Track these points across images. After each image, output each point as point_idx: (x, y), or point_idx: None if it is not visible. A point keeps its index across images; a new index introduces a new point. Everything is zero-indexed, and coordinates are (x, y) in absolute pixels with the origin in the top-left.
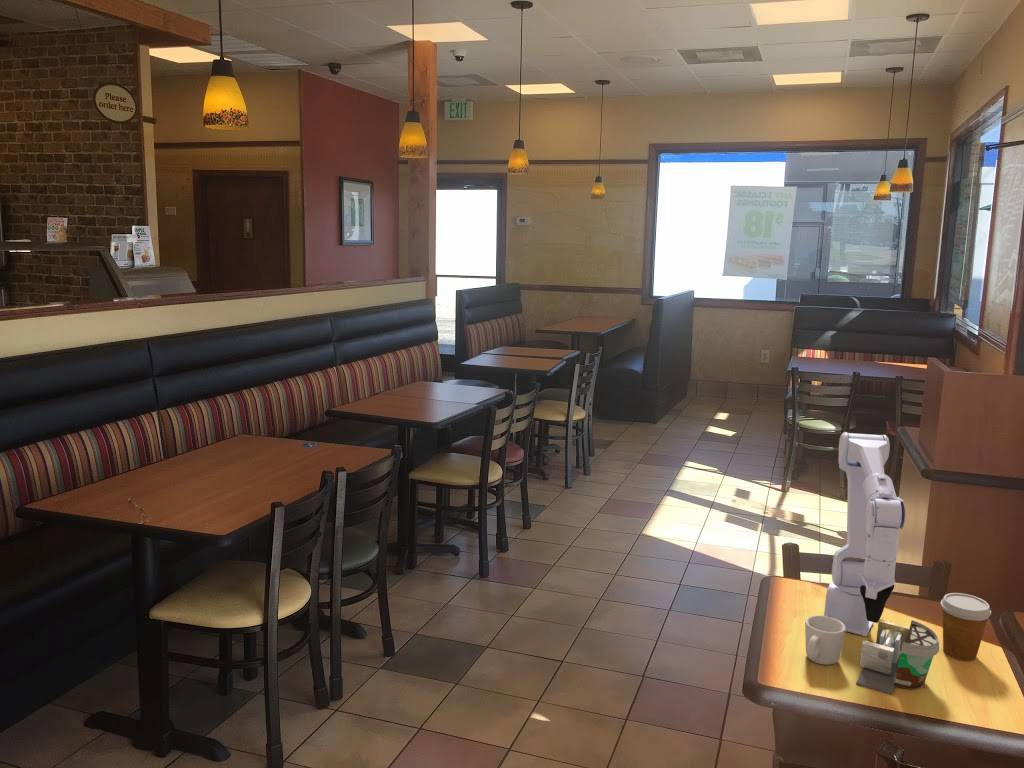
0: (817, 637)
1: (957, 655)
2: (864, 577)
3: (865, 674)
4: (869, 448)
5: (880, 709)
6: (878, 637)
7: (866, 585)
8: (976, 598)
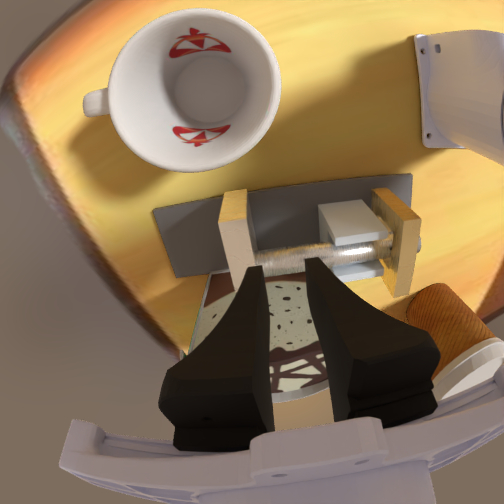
0: (100, 110)
1: (409, 315)
2: (207, 490)
3: (208, 211)
4: None
5: (112, 275)
6: (380, 202)
7: (92, 473)
8: None
